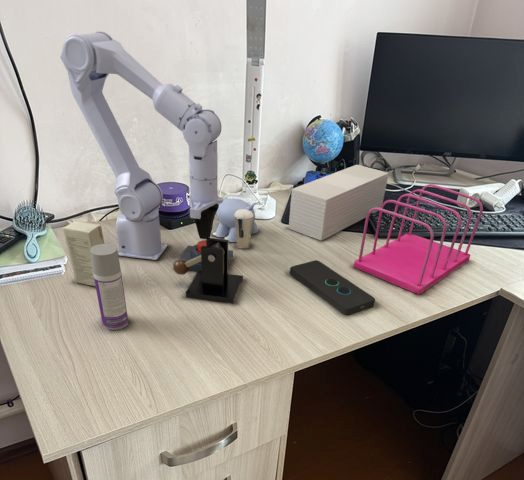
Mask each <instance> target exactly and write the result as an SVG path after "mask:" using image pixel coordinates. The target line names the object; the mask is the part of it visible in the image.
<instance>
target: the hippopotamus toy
mask: <svg viewBox="0 0 524 480" xmlns="http://www.w3.org/2000/svg"><path fill="white" fill-rule="evenodd" d="M257 204H258V202H253V203H251V204H249V203H248V202H247V201H245V200H242V199H239V198H228V197H225V198H223V202H222V203H221V204H218V205H219V208H218V210H217V212H216V214H215V216H216V217H217V220H218V226H217V228H216V231H213V233H212V235H213V236H215V237H217V238H223V239H224V240H228V243H236V227H235V218H234V214H235V212H236V211H237V210H239V209H247V210H249V211H251V212H252V213H253V222H252V229H251V235H252V234H253V235H254V234H257V233H259V229H258V226H257V223H256V211H255V209H254V208H255V206H256V205H257Z"/></svg>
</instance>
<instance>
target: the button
mask: <svg viewBox="0 0 524 480" xmlns="http://www.w3.org/2000/svg"><path fill="white" fill-rule="evenodd" d="M196 244H197V250H198V252H200V253H201V247H202V246H206V239H201V240H199V241H198V242H197V243H196Z"/></svg>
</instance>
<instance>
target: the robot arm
mask: <svg viewBox="0 0 524 480" xmlns="http://www.w3.org/2000/svg"><path fill="white" fill-rule="evenodd" d="M60 60H61V62H62V63H63V65H64V68H65V69H66V71H67V76H68V82H69V86H70V91H71V93H72V96H73V98H74V100H75V102H76V104H77V106H78V108H79V109H80V112H81V113H82V115H83V117H84V119H85V121H86V123H87V124H88V127H89V129H90V131H91V132H92V134H93V136H94V138H95V140H96V142H97V144H98V146H99V148H100V150H101V151H102V153H103V155H104V157H105V159H106V161H107V163H108V165H109V167H110V169H111V171H112V173H113V175H114V176H115V184H114V189H113V192H114V194H115V196H116V198H117V203H118V204H117V205H118V208H119V210H120V213H119V214H118V216H117V218H116V224H115V231H116V239H117V247H118V256H120V257H126V258H127V257H128V258H136V259H143V260H151V261H157V260H159V258H160V257H161V256H162V255H163V253H164V252H165V250H166V249H167V248H168V244H167V243H162V236H161V224H160V213H159V212H160V210H159V209H160V208H159V206H160V205H161V204H162V203H163V199H164V195H163V191H162V189H161V186H159V184H158V183H156V182H155V180H153V178H152V176H151V175H150V173H149V172H148V171H147V170H145V169H142V168H141V167H140V165H139V164H138V161H137V160H136V157H135V156H134V154H133V151H132V149H131V148H130V145H129V143H128V141H127V139H126V137H125V136H124V134H123V131H122V130H121V127H120V125H119V124H118V121H117V119H116V117H115V115H114V113H113V111H112V109H111V107H110V106H109V103H108V100H107V99H106V97H105V94H104V93H103V90H104V86H105V83H106V79H107V78H108V77H109V76H110V75H118V76H119V78H122V79H123V80H125V81H126V82H127V83H129V84H130V85H131V86H133V87H134V88H135V89H137V90H138V91H140V92H141V93H143V94H144V95H145V96H146V97H148V98H149V99H151V100H152V102H153V103H152V104H153V108H154V110H155V111H156V112H157V113H158V114H160V115H161V116H162V117H163V118H165V119H166V120H167V121H168V122H169V123H170V124H171V125H173V126H174V127H175V128H176V129H177V130H179V131H180V132H182V136H183V138H184V140H185V142H186V143H187V146H188V163H189V190H190V191H189V192H190V194H189V204H190V206H189V208H188V212H189V216H190V217H189V218H190V219H193V221H194V224H195V227H196V230H197V234H198V237H199V239H201V240H206V239H207V238H211V236H212V230H213V225H214V221H215V217H216V215H215V214H216V212H217V210H218V208H219V205H218V204H221V203H222V202H223V199H224V198H223V197H221V196H219V194H218V193H219V192H218V181H219V180H218V140H217V139H218V138H219V137H220V135H221V133H222V122H221V119H220V118H219V116H218V115H217V114H216V113H215V111H214V110H212V109H209V108H206V109H205V108H204V109H203V106H202V104H200V103H199V102H198V103H196V102H195V101H194V100H192V99H191V98H190V97H189V96H187V95H186V94H185V93H184V92H183V88H182V87H181V86H180V85H178V84H176V85H174V84H173V83H167V84H162V82H161V81H160V80H159V79H157V78H156V77H155V76H154V75H153V74H152V73H151V72H150V71H149V70H148V69H147V68H145V67H144V66H143V65H142V64H141V63H139V62H138V60H136V58H134V56H132V55H131V54H130V53H129V52H128V51H127V50H126V49H125V47H124V46H123V45H122V43H121V42H119V41H118V40H116V39H114V38H113V37H112V36H111V35H110V34H108V33H107V32H105V31H96V32H90V33H81V34H79V33H72V34H69V35H68V36H66V38H64V40H63V45H62V49H61V53H60Z"/></svg>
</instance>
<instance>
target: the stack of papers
mask: <svg viewBox="0 0 524 480" xmlns="http://www.w3.org/2000/svg"><path fill="white" fill-rule="evenodd" d="M389 174H390V172H387V171H383V170H379V169H375V168H372V167H367V166H364V165H361V164H355V165H352V166H350V167H346V168H344V169H341V170H338V171H336V172H334V173H330V174H328V175H325V176H322V177H320V178H317V179H314V180H312V181H309V182H307V183H303V184H301V185H298V186H296V187H293V188H291V194H290V195H291V196H290V205H289V207H290V208H289V218H288V220H289V222H288V227H287V228H288V230H291V231H294V232H297V233H299V234H302V235H304V236H307V237H310V238H312V239H316V240H318V241H320V242H321V241H324V240H326V239H327V238H329V237H331V236H333V235H335V234H337V233H339V232H341V231H343V230H345V229H346V228H348V227H350V226H352V225H354V224H356V223H358V222H360V221H362V220H364V219H366V216H367V214H368V212H369V211H370V210H371V209H373V208H381V206H382V204H383V203H384V200H385V193H386V189H387V184H388V178H389ZM377 212H378V211H377V210H375V211H373V212H372V213H373V214H376V213H377Z"/></svg>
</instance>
